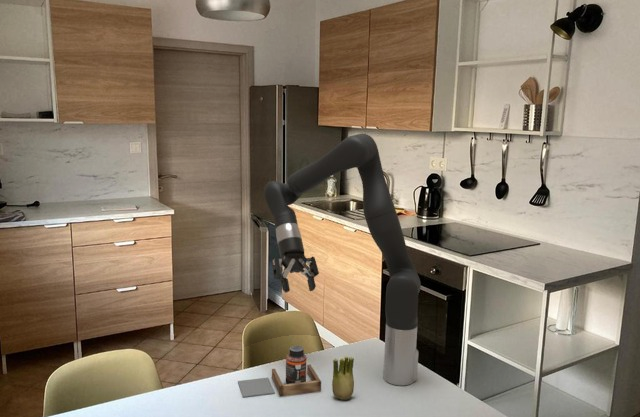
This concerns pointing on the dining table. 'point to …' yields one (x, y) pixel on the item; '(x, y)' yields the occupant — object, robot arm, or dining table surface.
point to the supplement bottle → (296, 365)
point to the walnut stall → (297, 384)
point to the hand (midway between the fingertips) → (300, 291)
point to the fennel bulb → (343, 378)
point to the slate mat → (256, 387)
